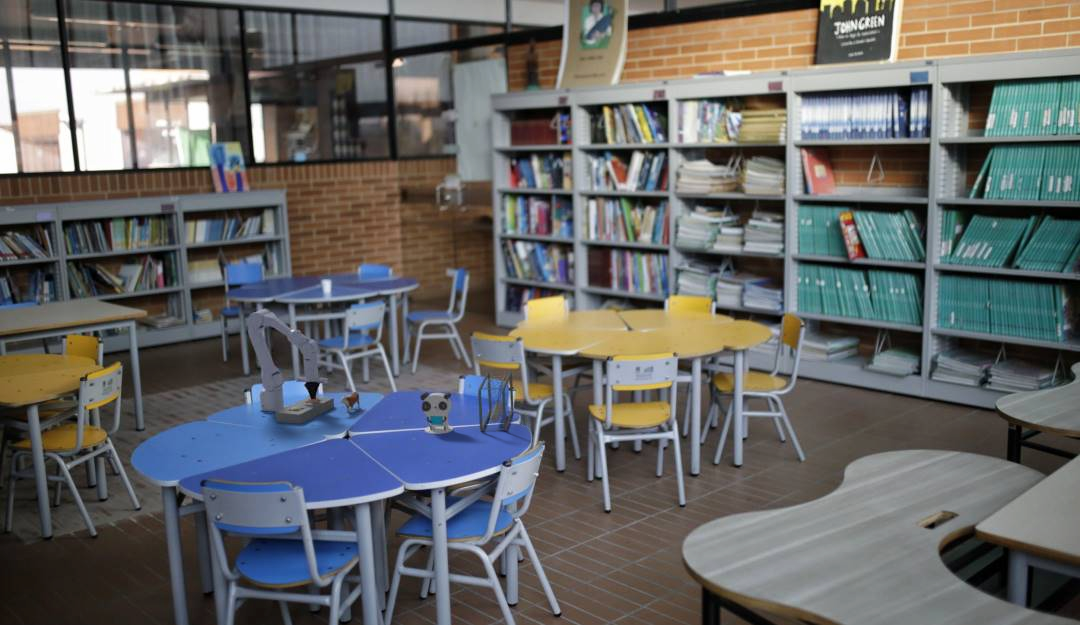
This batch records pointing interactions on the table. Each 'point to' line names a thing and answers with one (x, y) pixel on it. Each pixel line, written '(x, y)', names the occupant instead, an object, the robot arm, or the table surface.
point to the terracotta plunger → (313, 400)
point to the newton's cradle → (498, 405)
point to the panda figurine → (437, 412)
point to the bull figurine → (350, 400)
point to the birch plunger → (296, 409)
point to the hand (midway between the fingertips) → (313, 398)
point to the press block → (304, 410)
